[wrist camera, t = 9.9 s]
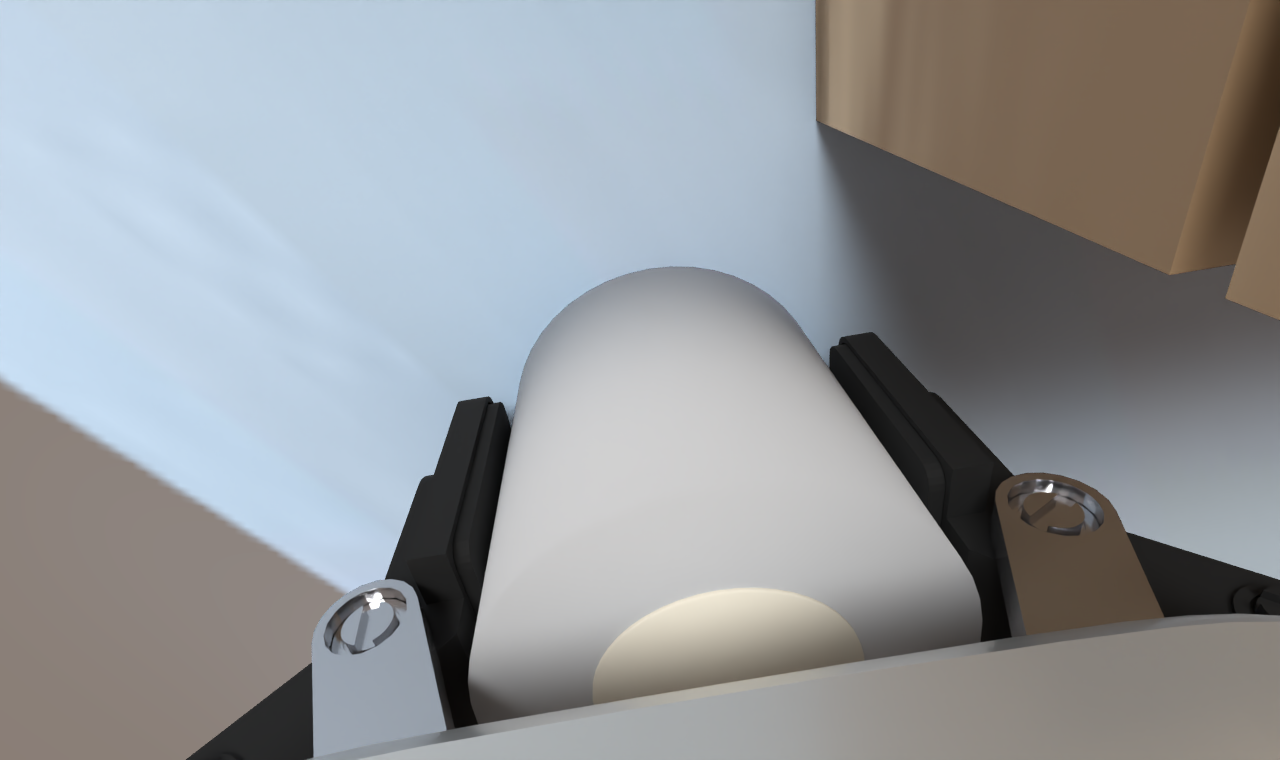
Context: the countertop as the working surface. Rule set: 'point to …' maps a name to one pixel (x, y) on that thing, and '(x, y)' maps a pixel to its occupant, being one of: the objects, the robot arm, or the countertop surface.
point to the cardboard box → (1071, 109)
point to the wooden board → (1261, 248)
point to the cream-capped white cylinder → (696, 510)
